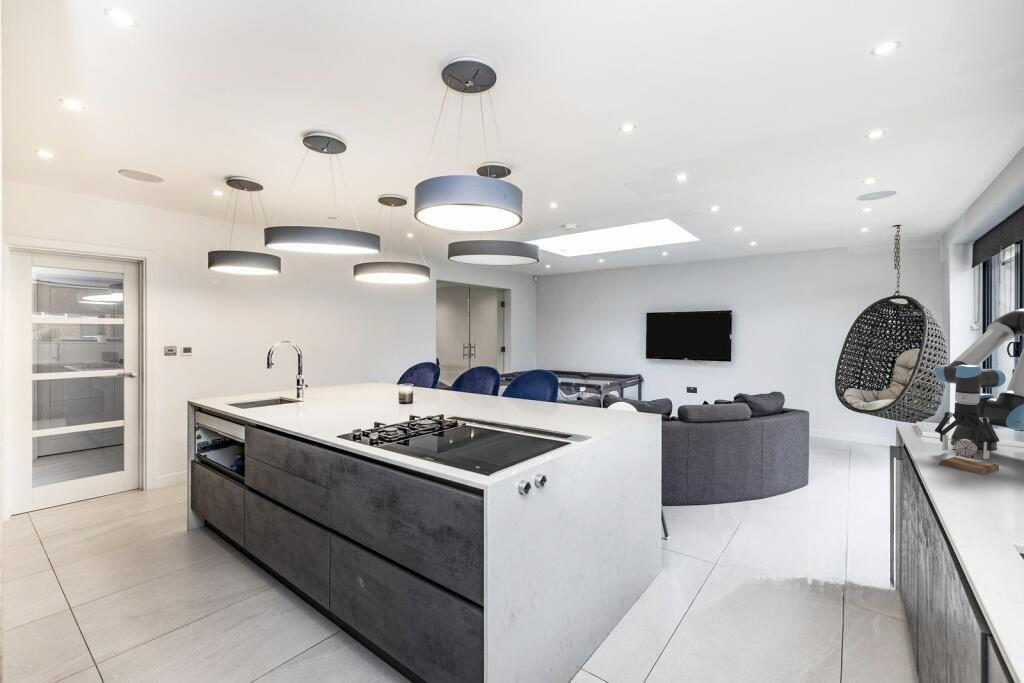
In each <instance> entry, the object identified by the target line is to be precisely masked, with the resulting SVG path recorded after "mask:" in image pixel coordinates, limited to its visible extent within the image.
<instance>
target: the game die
mask: <svg viewBox="0 0 1024 683" xmlns="http://www.w3.org/2000/svg"><path fill="white" fill-rule="evenodd" d="M957 440H958V441H956V442H955V443H951V444H952V445H953V448H952V449H951V451H954V452H955V453H956V454H955V456H961V457H966V458H972V459H974V455H976V454H980V452H978V448H977V447H979V446H976V445H975V443H974V441H975V440H973V441H970V440H968V439H966V437H965V439H960V440H959V439H958V438H957Z"/></svg>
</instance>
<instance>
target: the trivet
mask: <svg viewBox="0 0 1024 683" xmlns="http://www.w3.org/2000/svg"><path fill="white" fill-rule="evenodd" d="M938 465H939V466H942V465H943V467H947V466H948V468H951V467H952V468H951V469H957V470H960V471H965V472H969V473H973V474H979V475H983V474H988V473H990V472H994V471H997V470H999V468H1000V464H997V463H994V462H989V461H985V460H979V459H974V458H971V457H963V456H961V455H955V456H952V457H948V458H944V459H941V460H939V461H938Z"/></svg>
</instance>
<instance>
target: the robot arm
mask: <svg viewBox="0 0 1024 683" xmlns="http://www.w3.org/2000/svg"><path fill="white" fill-rule="evenodd" d="M1018 336H1023V337H1024V308H1020V309H1015V310H1011V311H1010V312H1007V313H1005V314H1004V315H1002V316H999V317H998V318H996V319H995V320H994V321H992V322H991V323H990V324H989V325H988V326H987V328H986V331H985V332H984V333H983V334H982V335H981V336H979V337H978V338H977V339H976V340H975V341H974V342H973V343H972V344H970V346H968V347H967V348H966V349H965V350H964V351H963V352H962V353H961V354H960V355H958V357H956V358H955V359H954V360H953V361H952V362H951V363H950V364H949V365H947V364H941V365H939V366H937V367H936V369H935V373H934V375H935V377H936V380H937V381H939V382H941V383H947V384H955V390H954V392H955V393H954V401H955V402H954V412H951V411H946V412H944V417H942V418H941V420H940V422H939V423H938V425H937V427H935V429H934V432H935V433H938V434H939V441H940V442H941V443H942V445H941V446H942V447H941V450H942V451H948V450H949V434H947V433H948V432H950V431H951V430H953V429H954V430H953V432H952V434H951V437H950V443H951V444H952V443H955V442H956V441H958V440H957V438H958V439H959V440H960V439H965V437H966V439H968V440H970V441H973V440H975V441H974V443H975V445H976V446H979V447H977V450H978V449H979V450H983V459H984V460H987V459H990V452H991V451H993V450H995V449H997V448H998V443H1000V438H999V437H998V435H997V433H996V431H995V430H994V427H1001V428H1006V429H1010V430H1012V431H1013V430H1018V431H1024V347H1023V348H1022V351H1021V353H1020V356H1019V358H1018V361H1017V363H1016V365H1015V368H1014V370H1013V373H1012V375H1011V378H1010V381H1009V383H1008V385H1007V388H1006V390H1005V391H1002V392H1000V393H999V394H998V397H997V398H996V397H995V396H994V394H993V393H981V389H983V388H984V389H985V388H992V389H993V388H999V387H1001V386H1003V385H1004V384H1005V383H1006V381H1007V380H1006V379H1007V378H1006V374H1005V373H1004V372H1003V371H1002V370H1000V369H996V368H982V367H981V366H980V365H981V364H982V363H983V362H984V361H986V360H987V358H989V357H990V356H991V355H992V354H994V352H996V350H998V349H999V348H1000V347H1001V346H1002V345H1003V344H1004V343H1005V342H1007V341H1011V340H1013V339H1014V338H1015V337H1018ZM951 418H954V420H953V421H952V422H951V423H950V424H949V425H947V423H948V422H949V421H950V419H951ZM946 425H947V426H946ZM945 426H946V427H945ZM993 426H994V427H993ZM944 427H945V428H944Z"/></svg>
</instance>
